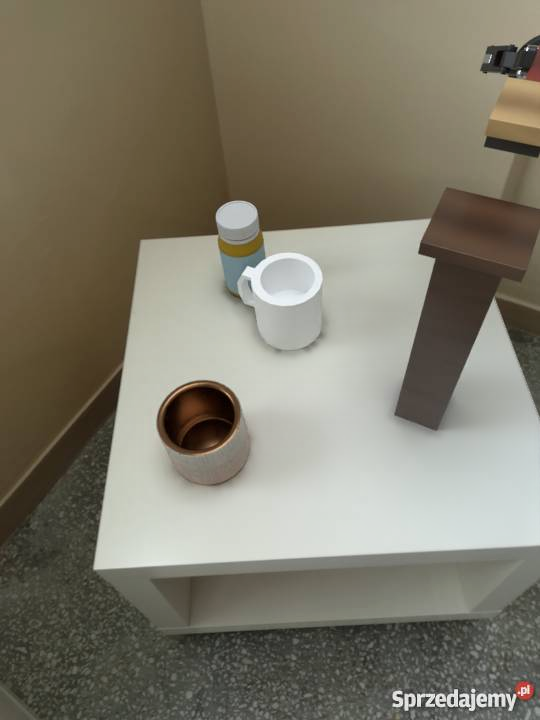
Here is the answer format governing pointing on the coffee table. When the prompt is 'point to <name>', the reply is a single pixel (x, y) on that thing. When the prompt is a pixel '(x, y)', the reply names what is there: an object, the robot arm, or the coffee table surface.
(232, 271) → the bottle
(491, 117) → the brush
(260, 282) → the mug
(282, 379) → the coffee table surface
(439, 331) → the stand
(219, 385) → the planter
